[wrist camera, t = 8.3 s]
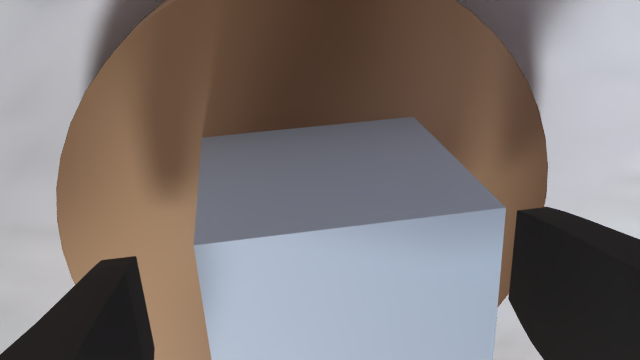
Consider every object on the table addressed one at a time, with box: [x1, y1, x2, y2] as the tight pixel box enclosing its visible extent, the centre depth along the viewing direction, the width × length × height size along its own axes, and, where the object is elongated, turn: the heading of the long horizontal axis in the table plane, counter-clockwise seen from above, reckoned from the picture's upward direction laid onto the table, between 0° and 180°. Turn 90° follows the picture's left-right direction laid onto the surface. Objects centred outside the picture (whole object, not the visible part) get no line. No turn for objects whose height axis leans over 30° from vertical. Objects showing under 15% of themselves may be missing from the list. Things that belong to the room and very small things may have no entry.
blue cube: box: [194, 117, 506, 360], centre depth 11 cm, size 4×4×4 cm
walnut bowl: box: [56, 0, 548, 360], centre depth 14 cm, size 11×11×2 cm
